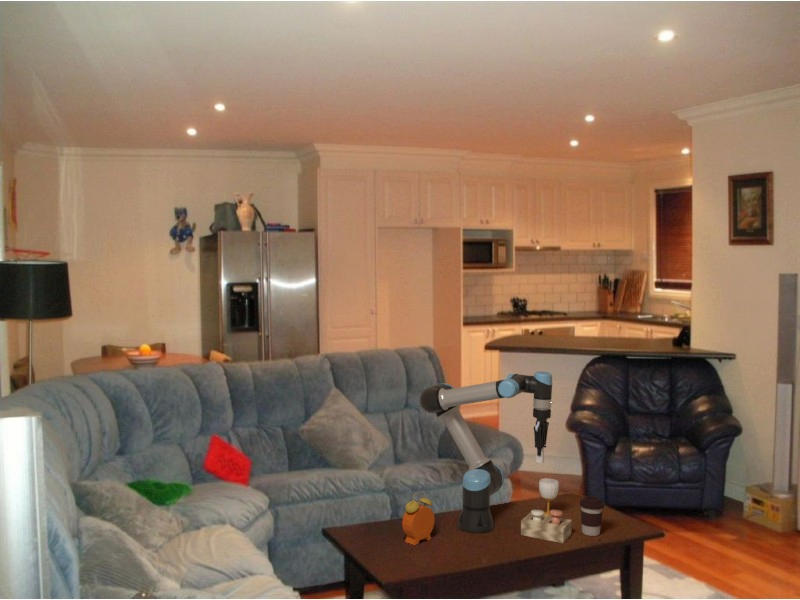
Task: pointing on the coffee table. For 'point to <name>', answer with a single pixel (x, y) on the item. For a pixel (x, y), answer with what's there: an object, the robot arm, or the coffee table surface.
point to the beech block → (546, 528)
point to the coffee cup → (591, 515)
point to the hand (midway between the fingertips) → (539, 462)
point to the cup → (548, 490)
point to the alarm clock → (418, 521)
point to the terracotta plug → (555, 516)
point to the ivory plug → (537, 514)
